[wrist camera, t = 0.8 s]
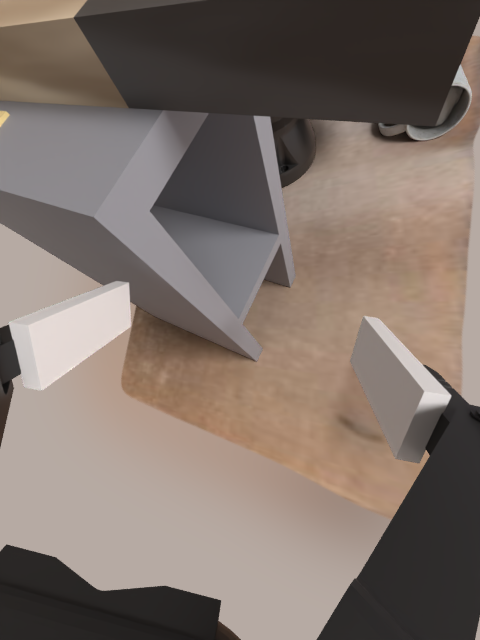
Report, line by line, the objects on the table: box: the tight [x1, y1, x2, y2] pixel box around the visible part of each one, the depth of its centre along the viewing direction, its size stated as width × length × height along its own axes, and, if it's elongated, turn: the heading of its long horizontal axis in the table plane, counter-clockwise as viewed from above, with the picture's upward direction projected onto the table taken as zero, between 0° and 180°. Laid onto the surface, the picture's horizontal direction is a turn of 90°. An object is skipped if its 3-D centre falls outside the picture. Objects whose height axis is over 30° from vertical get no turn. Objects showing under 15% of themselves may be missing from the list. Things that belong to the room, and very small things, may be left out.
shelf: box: [0, 101, 296, 361], centre depth 29 cm, size 14×19×30 cm
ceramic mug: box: [378, 65, 472, 141], centre depth 40 cm, size 11×8×8 cm
